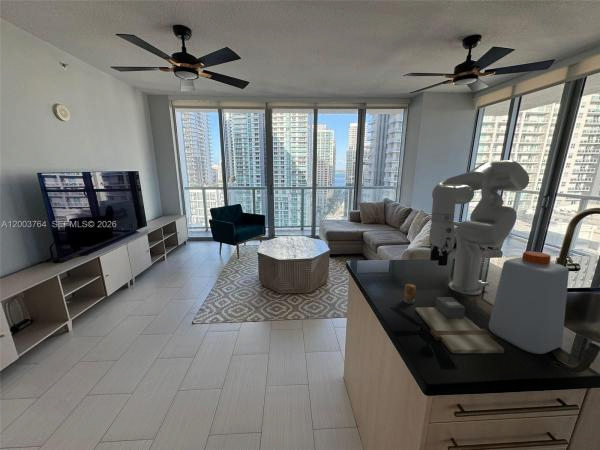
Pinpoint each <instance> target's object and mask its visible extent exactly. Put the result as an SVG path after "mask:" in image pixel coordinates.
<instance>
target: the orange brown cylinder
mask: <svg viewBox="0 0 600 450" xmlns="http://www.w3.org/2000/svg"><path fill="white" fill-rule="evenodd" d="M416 289H417V287H416V285H415V284H412V283H406V284H405V285H404V293H403V294H404V295H403V296H404V297H403V298H404V299H403V301H404V303H406V304H409V305H413V304H415V303H416V302H415V300H416Z"/></svg>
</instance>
